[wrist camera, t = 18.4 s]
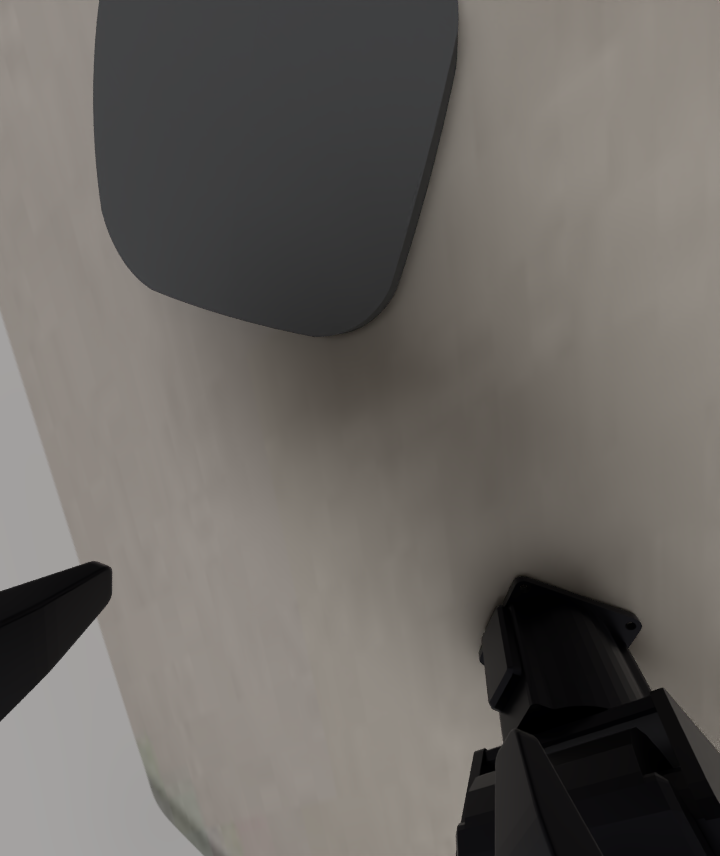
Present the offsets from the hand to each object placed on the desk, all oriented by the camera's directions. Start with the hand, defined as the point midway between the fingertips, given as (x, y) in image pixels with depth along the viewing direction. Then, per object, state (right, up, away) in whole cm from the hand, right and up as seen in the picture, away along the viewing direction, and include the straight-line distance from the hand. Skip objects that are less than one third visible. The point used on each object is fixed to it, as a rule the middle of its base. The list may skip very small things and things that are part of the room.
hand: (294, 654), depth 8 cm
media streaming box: (-3, +18, +10) cm, 20 cm away
